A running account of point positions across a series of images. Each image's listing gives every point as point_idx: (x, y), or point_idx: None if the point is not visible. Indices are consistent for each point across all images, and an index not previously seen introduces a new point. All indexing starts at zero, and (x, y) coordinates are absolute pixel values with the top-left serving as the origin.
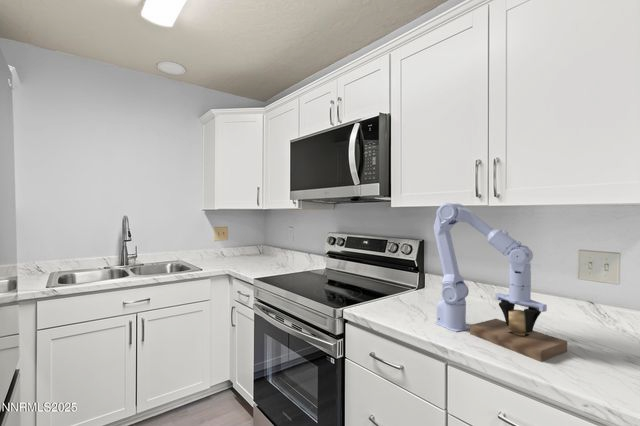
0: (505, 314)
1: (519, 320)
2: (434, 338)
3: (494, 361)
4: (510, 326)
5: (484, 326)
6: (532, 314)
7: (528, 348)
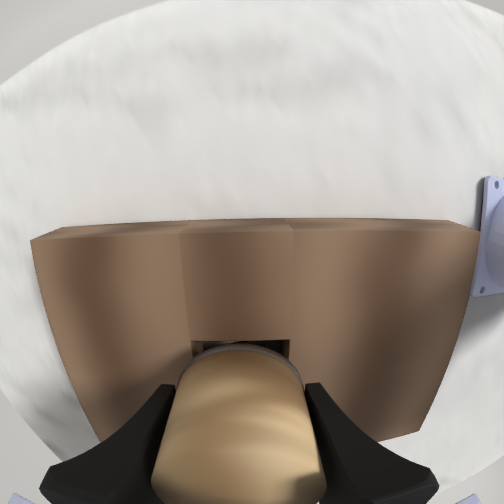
0: (343, 434)
1: (186, 418)
2: (465, 29)
3: (163, 21)
4: (269, 364)
5: (427, 293)
6: (50, 467)
7: (87, 233)
